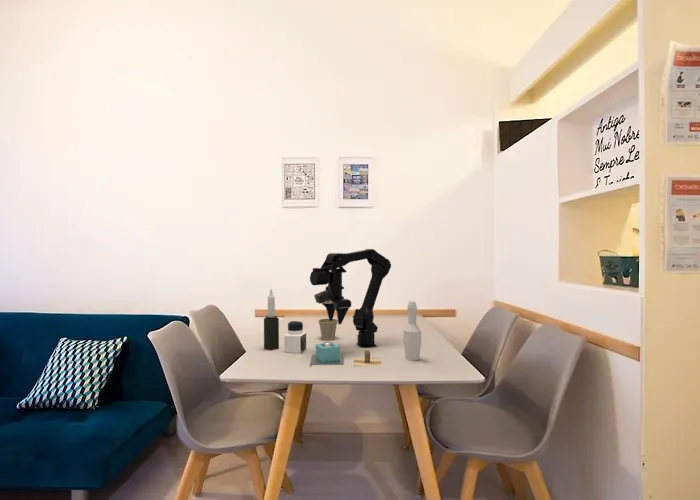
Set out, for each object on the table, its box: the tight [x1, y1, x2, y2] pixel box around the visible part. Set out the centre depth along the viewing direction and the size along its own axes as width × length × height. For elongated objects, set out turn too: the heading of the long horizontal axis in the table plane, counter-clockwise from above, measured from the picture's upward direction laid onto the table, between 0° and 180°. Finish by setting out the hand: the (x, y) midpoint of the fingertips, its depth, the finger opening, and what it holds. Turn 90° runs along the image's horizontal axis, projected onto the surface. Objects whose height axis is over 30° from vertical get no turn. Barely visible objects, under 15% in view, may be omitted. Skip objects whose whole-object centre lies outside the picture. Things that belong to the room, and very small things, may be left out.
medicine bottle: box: [283, 320, 307, 354], centre depth 157 cm, size 7×7×12 cm
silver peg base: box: [309, 341, 345, 367], centre depth 142 cm, size 12×12×7 cm
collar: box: [315, 341, 341, 362], centre depth 142 cm, size 7×7×5 cm
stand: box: [352, 349, 383, 367], centre depth 139 cm, size 10×10×5 cm
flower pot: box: [317, 318, 338, 341], centre depth 178 cm, size 9×9×9 cm
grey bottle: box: [403, 300, 422, 362], centre depth 143 cm, size 6×6×22 cm
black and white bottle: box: [263, 288, 280, 351], centre depth 161 cm, size 5×5×25 cm
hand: (335, 322), depth 155 cm, fingers open, 9 cm apart
